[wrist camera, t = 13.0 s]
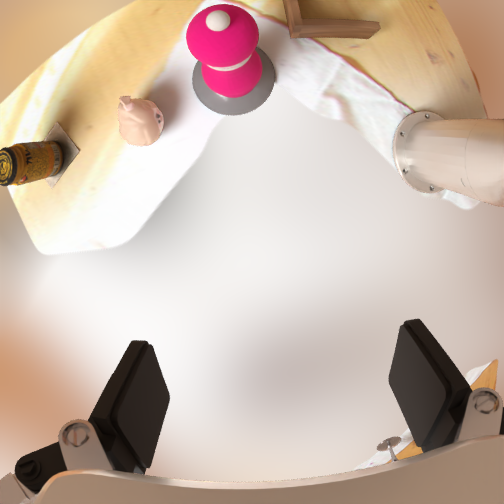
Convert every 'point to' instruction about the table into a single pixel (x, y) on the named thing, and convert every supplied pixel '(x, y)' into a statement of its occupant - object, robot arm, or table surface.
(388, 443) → the wine glass
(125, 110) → the beige plush toy
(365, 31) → the cradle
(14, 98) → the table surface
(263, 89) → the coaster
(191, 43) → the pepper mill
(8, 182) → the condiment
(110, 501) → the robot arm
